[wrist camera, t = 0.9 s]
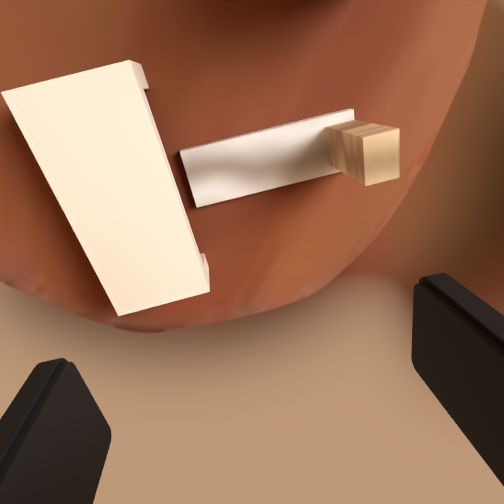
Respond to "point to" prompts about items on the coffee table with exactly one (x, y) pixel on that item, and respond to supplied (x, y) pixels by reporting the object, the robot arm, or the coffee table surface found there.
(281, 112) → the coffee table surface
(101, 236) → the cream flanged plate
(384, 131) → the white-handled mallet
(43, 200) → the coffee table surface
